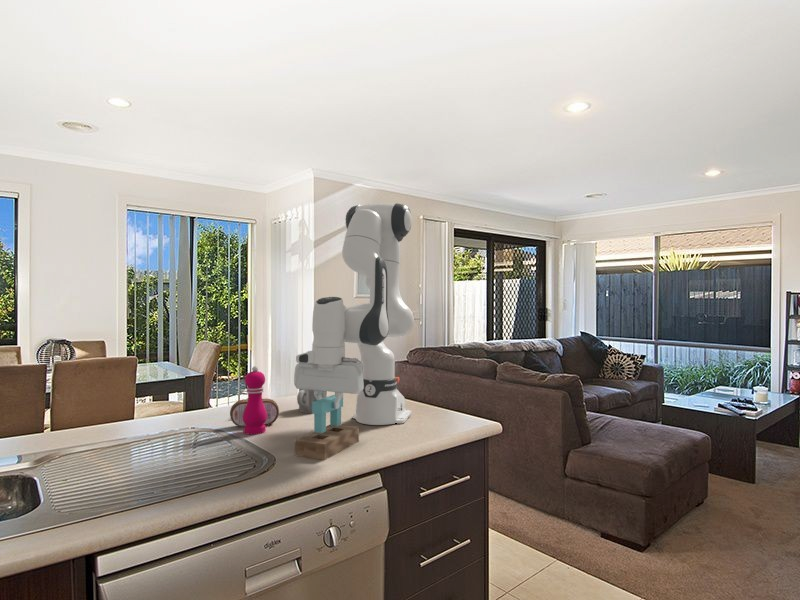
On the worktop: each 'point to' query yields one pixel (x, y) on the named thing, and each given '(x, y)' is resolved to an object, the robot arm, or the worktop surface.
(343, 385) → the robot arm
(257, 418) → the pepper mill
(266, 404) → the tin
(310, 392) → the coffee mug
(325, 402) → the clip
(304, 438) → the slotted wooden block
